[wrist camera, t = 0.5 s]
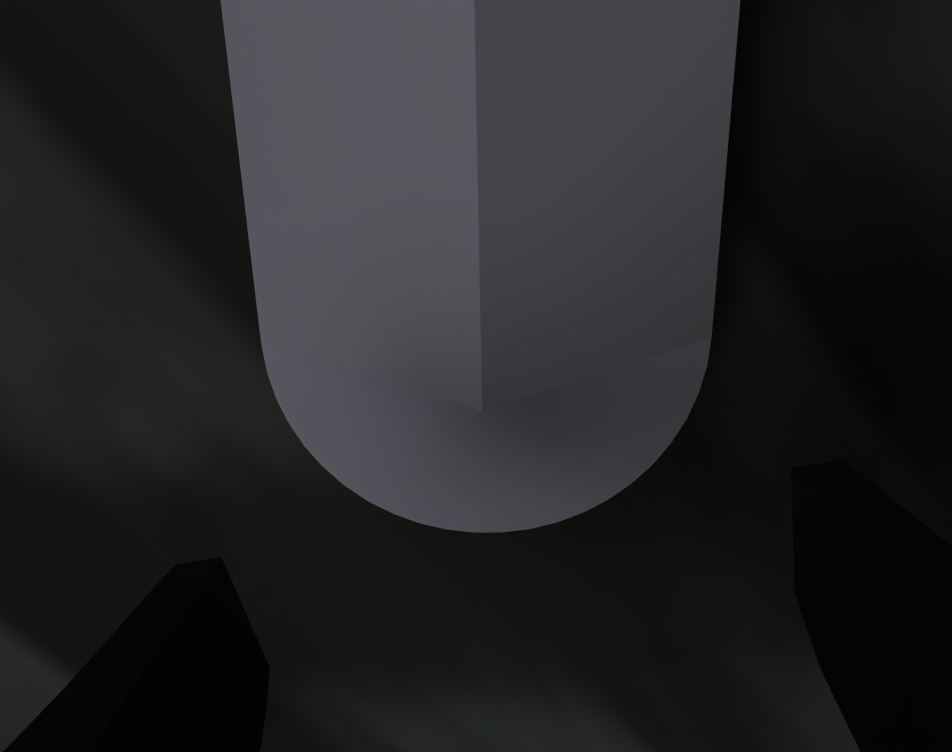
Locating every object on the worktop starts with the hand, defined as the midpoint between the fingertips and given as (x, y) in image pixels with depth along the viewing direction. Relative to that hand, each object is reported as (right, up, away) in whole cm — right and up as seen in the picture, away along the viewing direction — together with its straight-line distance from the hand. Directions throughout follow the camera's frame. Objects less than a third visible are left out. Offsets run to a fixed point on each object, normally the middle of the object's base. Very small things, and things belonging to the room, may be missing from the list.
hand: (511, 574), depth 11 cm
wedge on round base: (0, +6, +9) cm, 11 cm away
